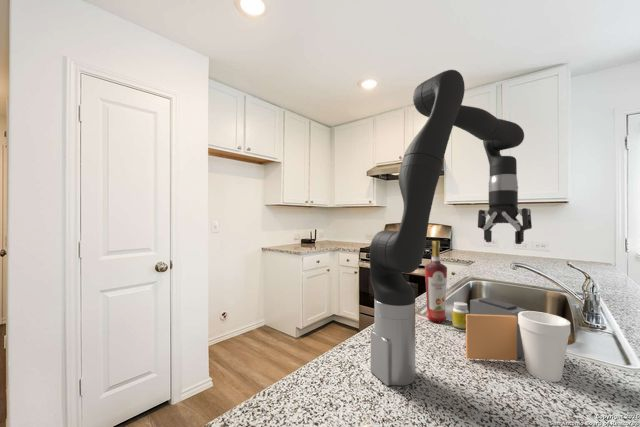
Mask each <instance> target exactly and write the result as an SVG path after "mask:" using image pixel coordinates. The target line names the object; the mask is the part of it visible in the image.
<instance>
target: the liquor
mask: <svg viewBox="0 0 640 427" xmlns="http://www.w3.org/2000/svg"><path fill="white" fill-rule="evenodd" d="M431 248H432V249H431V250H432V251H431V260H430V261H431V262H429V263H427V264H426V265H424V278H425V279H424V280H425V291H426V292H425V293H426V294H425V295H426V297H425V298H426V313H425V317H426V318H427V319H428V320H429V321H430V320H431V321H430V322H432V321H433V323H437V322H440V323H442V322H444V321H446V320H447V316H446V300H447V298H446V296H447V285H448V284H447V283H448V282H447V280H448V279H447V278H448V267H447V266H446V265H445V264H443V263H441V255H440V248H441V241H440V240H431Z"/></svg>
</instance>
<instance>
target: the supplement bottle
mask: <svg viewBox="0 0 640 427" xmlns="http://www.w3.org/2000/svg"><path fill="white" fill-rule="evenodd" d="M466 314H470V310H468V303H467V302H464V301H454V302H453V308H452V329H453V330H455V331H457V332H461V333H462V332H463V333H466Z"/></svg>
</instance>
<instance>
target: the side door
mask: <svg viewBox="0 0 640 427" xmlns="http://www.w3.org/2000/svg"><path fill="white" fill-rule="evenodd" d="M465 357H466V358H465V359H469V360H490V361H491V360H493V361H495V360H496V361H511V362H512V361H513V362H515V361H516V362H517V361H518V359H517V317H516V316H511V315H479V314H470V313H469V314H466V332H465Z"/></svg>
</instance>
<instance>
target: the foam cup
mask: <svg viewBox="0 0 640 427" xmlns="http://www.w3.org/2000/svg"><path fill="white" fill-rule="evenodd" d="M518 324H519V326H520V332H521V339H522V345H523V351H524V356H523V357H524V364H525V367H526V371H527V372H528V374H529V375H531V376H533V377H535V378H538V379H540V380H542V381H547V382H551V383H552V382H554V383H557V382H561V380H562V376H563V373H564V367H565V366H564V365H565V362H566V361H565V360H566V356H567V348H568V343H569V342H568V341H569V336H570V335H571V322H570V320H568V319H567V318H564V317H562V316H559V315H556V314H552V313H547V312H541V311H533V310H527V311H522V312H519V313H518Z"/></svg>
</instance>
